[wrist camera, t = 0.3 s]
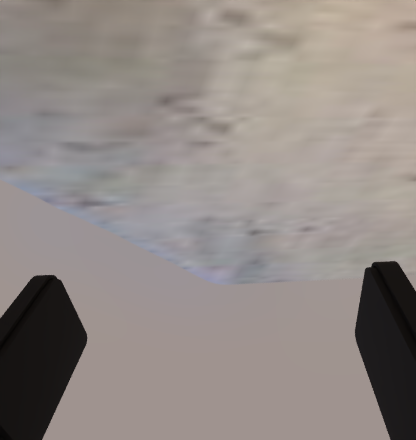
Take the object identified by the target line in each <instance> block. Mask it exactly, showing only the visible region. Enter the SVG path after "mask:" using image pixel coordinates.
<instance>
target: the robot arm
mask: <svg viewBox="0 0 416 440" xmlns="http://www.w3.org/2000/svg"><path fill="white" fill-rule="evenodd" d="M355 337H356V342H357V345H358V348H359V351H360V353H361V356H362V359H363V362H364V365H365V368H366V371H367V374H368V376H369V379H370V382H371V385H372V388H373V391H374V394H375V396H376V399H377V402H378V405H379V408H380V411H381V413H382V416H383V419H384V422H385V425H386V428H387V431H388V434H389V436H390V439H391V440H416V291H415V290H414V288H413V286H412V285H411V283H410V281H409V280H408V278H407V277H406V275H405V273H404V272H403V270H402V269H401V267H400V265H399V264H398V263H397V262H395V261H390V262H373V264H372V266H371V267H369V268H366V269H365V273H364V279H363V285H362V291H361V297H360V303H359V310H358V316H357V322H356V328H355ZM86 343H87V334H86V331H85V329H84V327H83V325H82V323H81V321H80V319H79V317H78V315H77V312H76V310H75V308H74V306H73V304H72V302H71V300H70V298H69V296H68V294H67V292H66V289H65V287H64V285H63V283H62V281H61V280H59V279H57V277H56V276H54V275H43V276H34V277H33V278H32V279H31V280H30V281H29V282H28V284H27V285H26V286H25V288H24V289H23V290H22V291H21V293H20V294H19V295H18V296H17V298H16V299H15V300H14V302H13V303H12V304H11V305H10V307H9V308H8V309H7V311H6V312H5V313H4V315H3V316H2V317H1V318H0V440H42V439H43V436H44V434H45V432H46V430H47V428H48V426H49V423H50V421H51V419H52V417H53V415H54V413H55V410H56V408H57V406H58V404H59V402H60V400H61V397H62V395H63V393H64V391H65V389H66V386H67V385H68V382H69V380H70V378H71V375H72V374H73V371H74V369H75V367H76V365H77V363H78V361H79V359H80V357H81V354H82V352H83V350H84V348H85V346H86Z"/></svg>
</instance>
